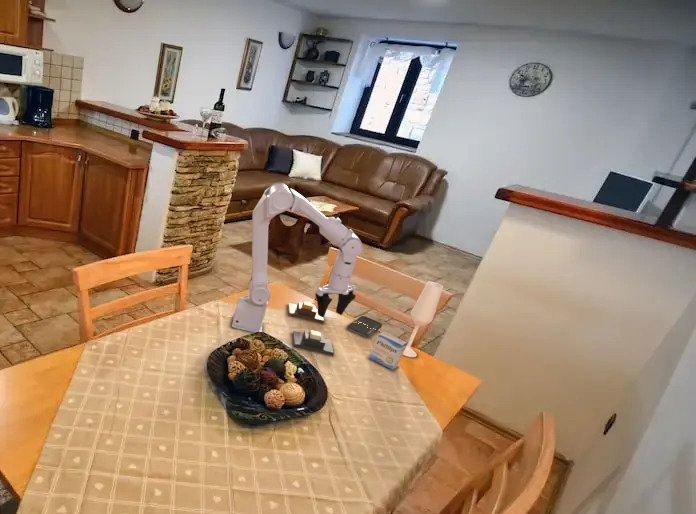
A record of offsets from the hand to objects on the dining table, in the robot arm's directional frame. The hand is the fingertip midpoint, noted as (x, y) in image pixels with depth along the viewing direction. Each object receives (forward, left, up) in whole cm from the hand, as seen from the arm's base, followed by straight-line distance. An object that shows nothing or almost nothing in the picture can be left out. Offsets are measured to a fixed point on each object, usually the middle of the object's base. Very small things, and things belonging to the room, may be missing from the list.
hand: (329, 314), depth 156 cm
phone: (+17, +18, -9) cm, 26 cm away
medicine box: (+19, -6, -9) cm, 22 cm away
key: (-3, -5, -6) cm, 9 cm away
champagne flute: (+29, +6, -9) cm, 31 cm away
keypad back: (-4, +18, -9) cm, 20 cm away
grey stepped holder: (-3, -5, -9) cm, 11 cm away
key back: (-4, +18, -6) cm, 19 cm away
